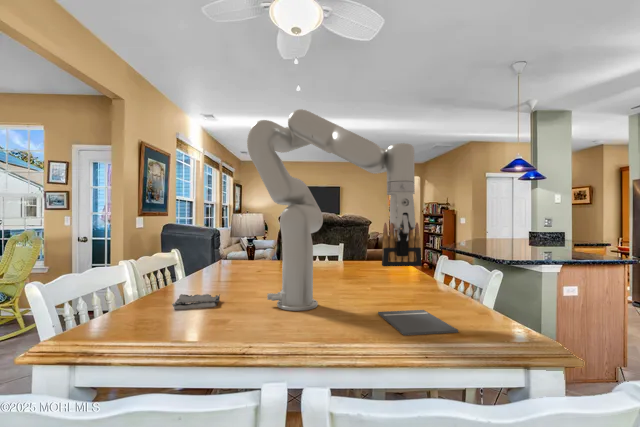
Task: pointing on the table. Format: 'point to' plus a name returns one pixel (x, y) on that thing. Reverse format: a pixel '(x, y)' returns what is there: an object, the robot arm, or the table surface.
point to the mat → (416, 322)
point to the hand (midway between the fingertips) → (401, 254)
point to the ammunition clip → (390, 248)
